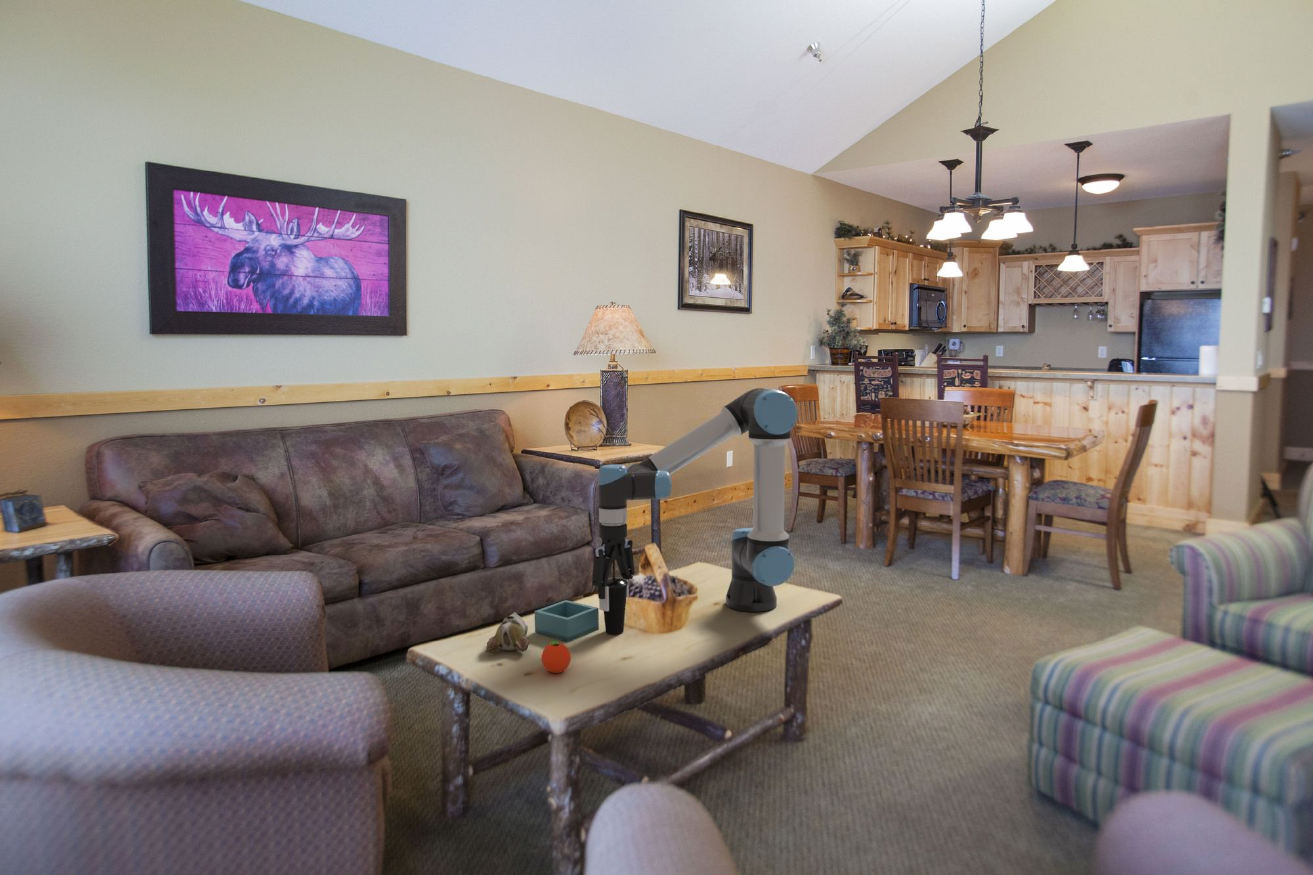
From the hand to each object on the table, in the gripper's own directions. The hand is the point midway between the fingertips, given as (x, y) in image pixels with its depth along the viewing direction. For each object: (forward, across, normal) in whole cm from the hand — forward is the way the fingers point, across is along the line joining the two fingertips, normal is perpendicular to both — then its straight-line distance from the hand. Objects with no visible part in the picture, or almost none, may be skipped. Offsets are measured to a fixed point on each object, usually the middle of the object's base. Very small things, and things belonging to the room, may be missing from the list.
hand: (614, 605), depth 218 cm
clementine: (+7, +29, +6) cm, 31 cm away
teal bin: (+7, +7, -11) cm, 15 cm away
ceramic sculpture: (+8, +25, -14) cm, 30 cm away
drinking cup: (+7, 0, 0) cm, 7 cm away
